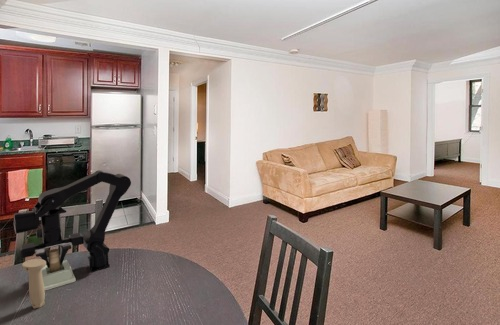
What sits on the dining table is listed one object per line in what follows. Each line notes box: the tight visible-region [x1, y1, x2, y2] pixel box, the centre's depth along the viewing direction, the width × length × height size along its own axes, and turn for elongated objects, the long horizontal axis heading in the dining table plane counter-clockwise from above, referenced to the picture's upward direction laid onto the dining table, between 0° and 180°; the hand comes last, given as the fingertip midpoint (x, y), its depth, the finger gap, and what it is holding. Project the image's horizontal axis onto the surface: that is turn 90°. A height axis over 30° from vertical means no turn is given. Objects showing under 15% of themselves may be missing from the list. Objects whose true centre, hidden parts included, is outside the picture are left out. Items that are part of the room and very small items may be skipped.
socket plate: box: [42, 259, 77, 291], centre depth 106 cm, size 11×11×4 cm
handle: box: [21, 258, 46, 309], centre depth 91 cm, size 5×6×15 cm
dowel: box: [47, 248, 61, 273], centre depth 106 cm, size 3×3×8 cm
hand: (54, 266), depth 106 cm, fingers closed on dowel, 3 cm apart
